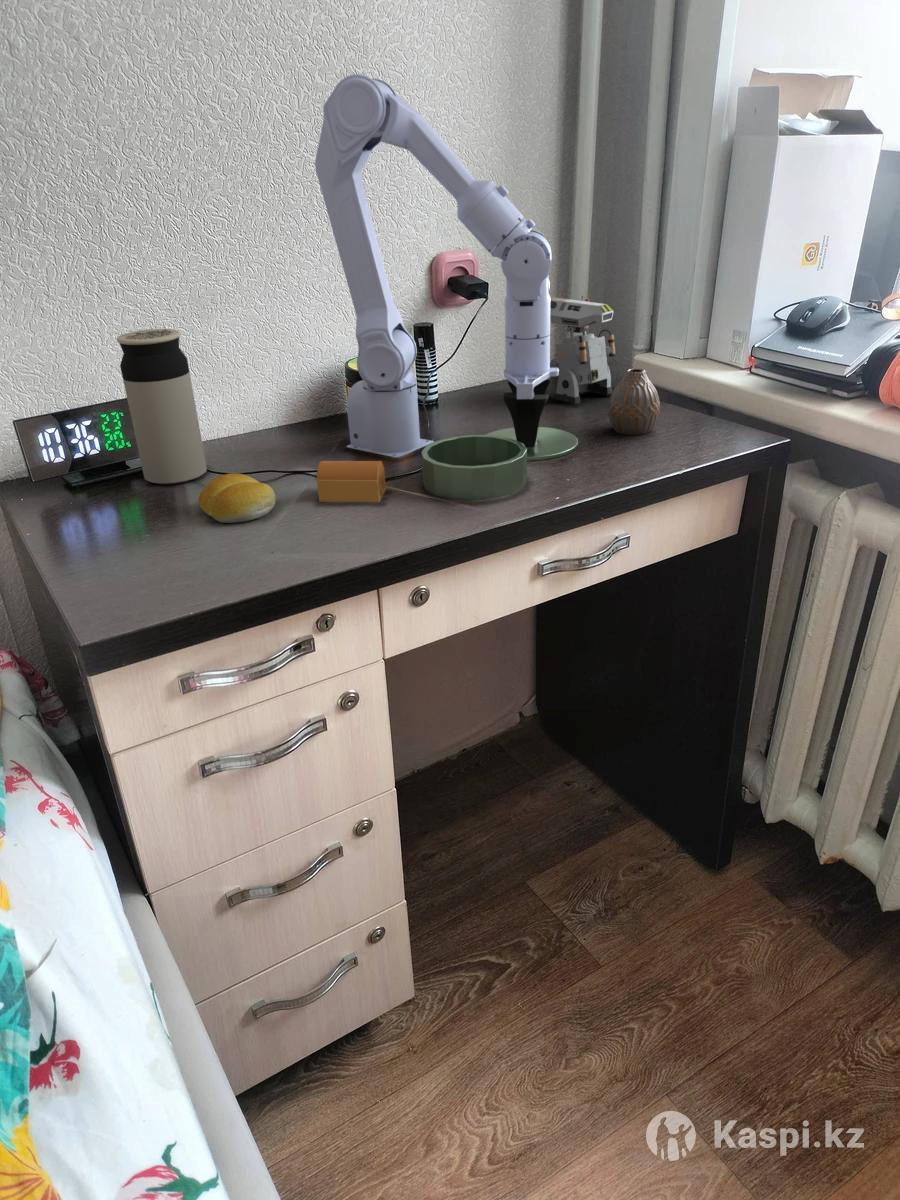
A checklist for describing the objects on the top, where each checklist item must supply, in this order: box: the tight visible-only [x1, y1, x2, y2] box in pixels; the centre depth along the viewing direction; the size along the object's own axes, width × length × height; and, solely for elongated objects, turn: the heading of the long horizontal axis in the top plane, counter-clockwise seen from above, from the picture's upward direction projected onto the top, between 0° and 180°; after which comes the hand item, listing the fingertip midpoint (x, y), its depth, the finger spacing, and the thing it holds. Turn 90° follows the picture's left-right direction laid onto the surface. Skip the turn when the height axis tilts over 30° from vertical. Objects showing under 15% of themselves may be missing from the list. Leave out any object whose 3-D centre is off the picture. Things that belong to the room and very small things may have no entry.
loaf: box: [316, 460, 387, 503], centre depth 103 cm, size 7×4×4 cm, turn 83°
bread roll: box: [197, 472, 276, 524], centre depth 101 cm, size 8×9×4 cm
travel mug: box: [116, 328, 208, 485], centre depth 110 cm, size 8×8×18 cm
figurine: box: [550, 297, 617, 405], centre depth 136 cm, size 9×12×15 cm
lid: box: [485, 426, 579, 462], centre depth 116 cm, size 13×13×5 cm
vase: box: [608, 367, 661, 436], centre depth 119 cm, size 7×7×9 cm
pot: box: [420, 434, 528, 501], centre depth 105 cm, size 12×12×4 cm
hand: (527, 438), depth 117 cm, fingers open, 6 cm apart
